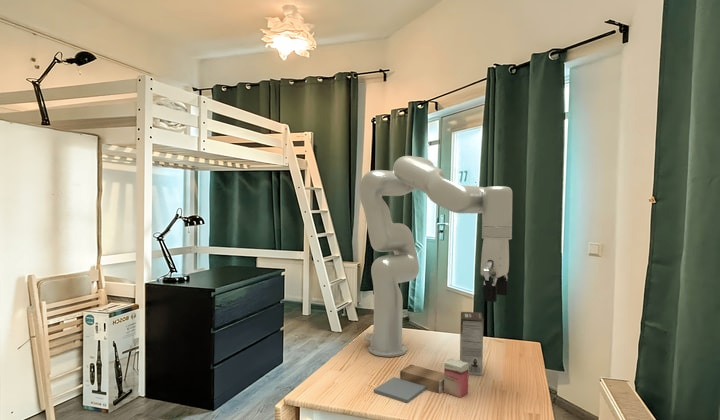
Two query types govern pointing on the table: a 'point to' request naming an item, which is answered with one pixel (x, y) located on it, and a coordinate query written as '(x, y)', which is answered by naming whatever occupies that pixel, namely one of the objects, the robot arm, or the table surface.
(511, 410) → the table surface
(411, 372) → the bronze rectangular slab
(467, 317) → the coffee box
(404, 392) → the slate pad
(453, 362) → the small box
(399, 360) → the table surface
